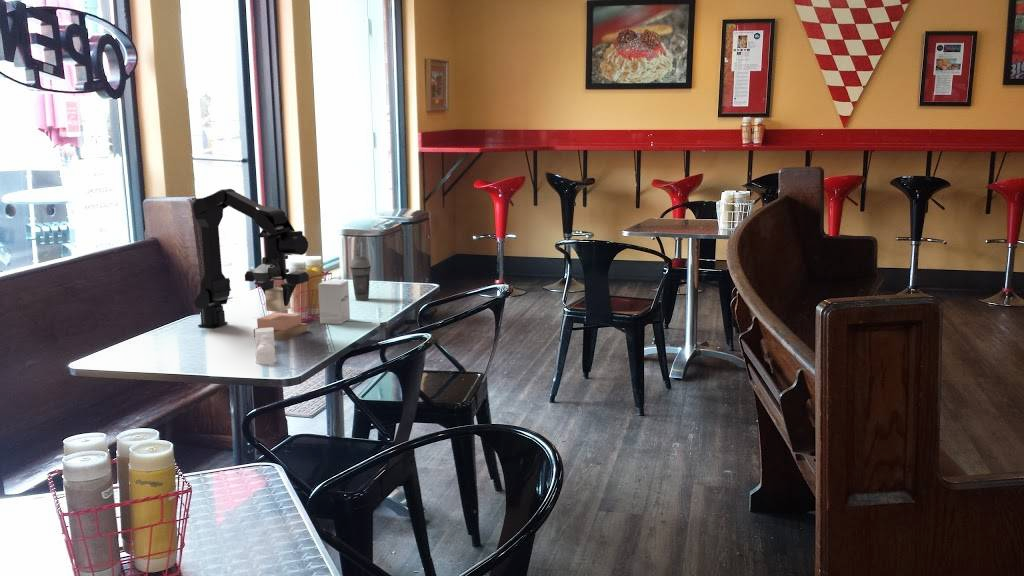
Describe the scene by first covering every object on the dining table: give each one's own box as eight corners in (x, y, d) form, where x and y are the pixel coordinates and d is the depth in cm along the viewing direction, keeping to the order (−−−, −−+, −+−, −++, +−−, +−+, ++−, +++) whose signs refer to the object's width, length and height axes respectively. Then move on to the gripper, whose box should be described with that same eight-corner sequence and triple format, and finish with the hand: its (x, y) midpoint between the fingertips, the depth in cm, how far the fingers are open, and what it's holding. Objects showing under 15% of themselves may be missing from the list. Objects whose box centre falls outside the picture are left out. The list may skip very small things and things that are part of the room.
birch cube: (266, 310, 261) (264, 290, 260) (276, 307, 266) (275, 287, 265) (280, 311, 260) (279, 291, 258) (290, 308, 264) (289, 288, 263)
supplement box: (341, 324, 275) (339, 284, 273) (319, 323, 276) (317, 283, 274) (350, 319, 282) (348, 279, 280) (328, 318, 284) (326, 279, 281)
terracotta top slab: (257, 328, 261) (257, 318, 261) (275, 322, 270) (274, 312, 269) (284, 330, 258) (283, 320, 258) (301, 323, 267) (300, 314, 266)
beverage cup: (362, 296, 317) (359, 240, 313) (377, 298, 313) (374, 242, 309) (347, 300, 311) (344, 243, 307) (362, 302, 307) (359, 244, 303)
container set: (255, 347, 250) (254, 328, 249) (275, 345, 252) (273, 326, 251) (255, 366, 232) (254, 345, 230) (276, 364, 233) (274, 343, 232)
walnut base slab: (254, 339, 261) (253, 329, 261) (276, 330, 271) (276, 321, 271) (286, 341, 258) (285, 331, 257) (307, 333, 268) (306, 323, 267)
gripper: (230, 255, 256) (234, 308, 259) (285, 258, 249) (289, 313, 252) (254, 250, 266) (258, 301, 269) (308, 252, 259) (311, 305, 262)
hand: (278, 305), depth 263 cm, fingers closed on birch cube, 5 cm apart
